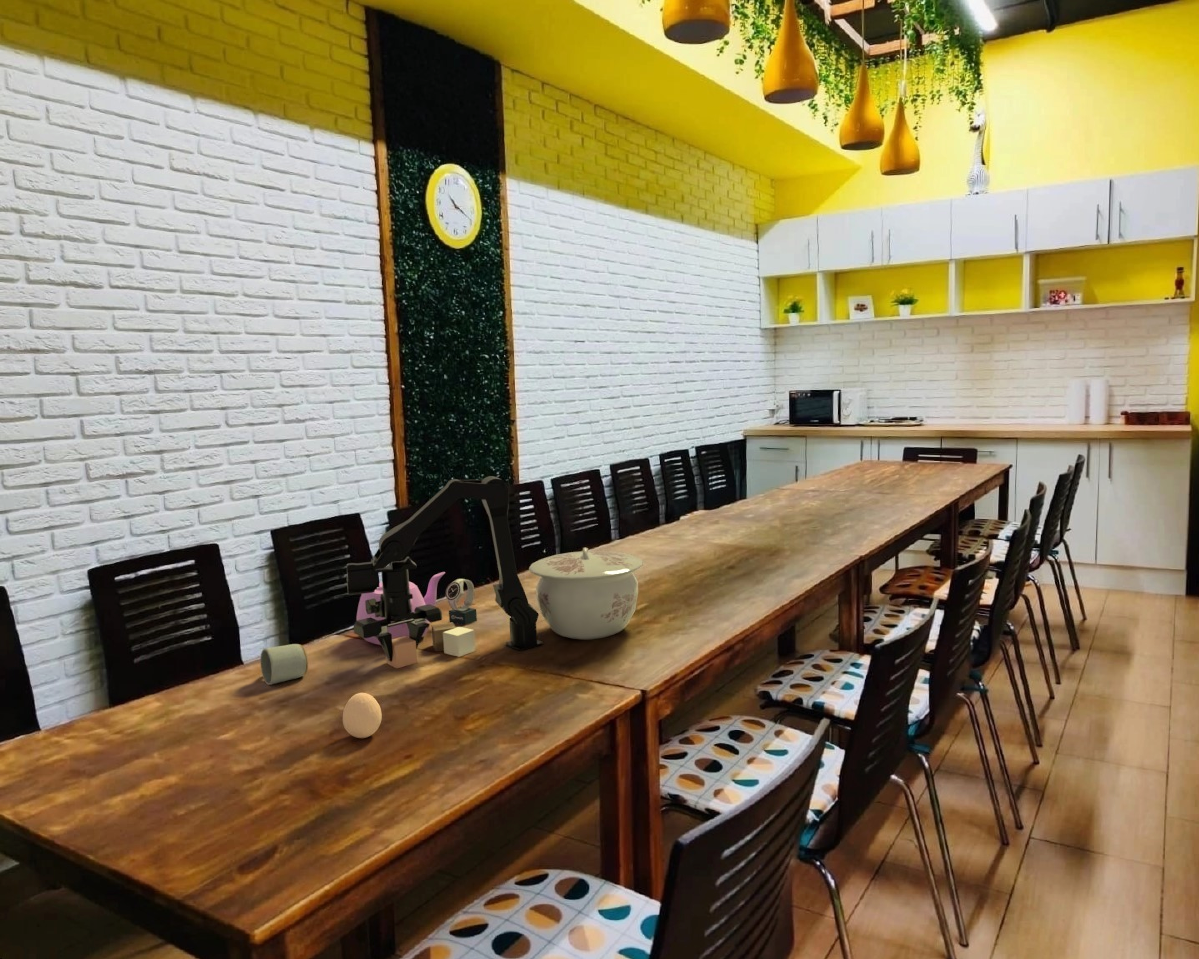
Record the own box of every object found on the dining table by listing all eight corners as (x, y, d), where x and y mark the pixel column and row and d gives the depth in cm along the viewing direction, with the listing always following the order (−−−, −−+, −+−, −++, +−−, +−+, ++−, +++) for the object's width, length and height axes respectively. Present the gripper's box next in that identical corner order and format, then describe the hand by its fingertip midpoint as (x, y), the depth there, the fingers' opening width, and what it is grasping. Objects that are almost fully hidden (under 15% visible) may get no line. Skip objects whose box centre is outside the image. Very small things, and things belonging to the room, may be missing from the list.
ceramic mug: (311, 678, 184) (308, 643, 183) (273, 689, 178) (269, 653, 178) (293, 668, 192) (290, 634, 191) (255, 677, 186) (252, 643, 186)
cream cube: (475, 651, 197) (474, 629, 197) (459, 657, 194) (457, 635, 193) (460, 647, 201) (459, 626, 200) (444, 653, 197) (442, 632, 196)
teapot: (378, 657, 196) (373, 593, 194) (349, 636, 213) (344, 576, 211) (470, 637, 208) (466, 576, 206) (435, 618, 226) (431, 562, 224)
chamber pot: (578, 658, 189) (573, 565, 186) (510, 632, 210) (505, 549, 208) (671, 630, 206) (668, 545, 203) (600, 608, 227) (596, 531, 225)
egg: (344, 747, 148) (340, 703, 147) (344, 732, 155) (340, 689, 154) (384, 741, 150) (380, 697, 149) (382, 726, 156) (379, 684, 155)
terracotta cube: (417, 662, 191) (415, 640, 190) (396, 668, 188) (394, 646, 187) (406, 657, 195) (405, 636, 194) (386, 662, 192) (384, 641, 191)
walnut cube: (457, 648, 200) (456, 627, 199) (435, 651, 198) (434, 630, 198) (454, 642, 205) (452, 622, 204) (432, 645, 203) (431, 625, 202)
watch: (444, 624, 220) (441, 582, 218) (465, 616, 226) (463, 575, 225) (460, 627, 217) (457, 584, 215) (481, 619, 223) (479, 577, 222)
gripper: (417, 576, 201) (422, 640, 203) (340, 591, 190) (346, 660, 192) (440, 583, 193) (445, 651, 195) (361, 600, 181) (367, 672, 183)
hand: (401, 658), depth 191 cm, fingers closed on terracotta cube, 5 cm apart
